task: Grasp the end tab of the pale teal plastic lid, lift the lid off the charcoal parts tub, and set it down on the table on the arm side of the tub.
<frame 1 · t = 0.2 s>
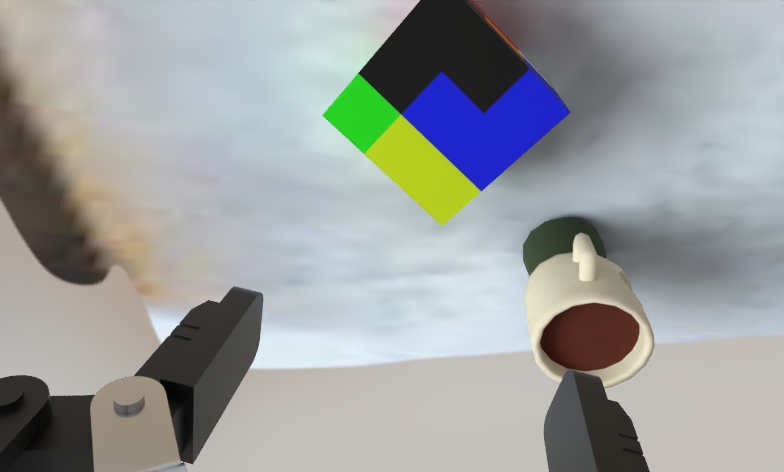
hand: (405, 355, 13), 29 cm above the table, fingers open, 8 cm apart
character mug: (560, 246, 43), on the table
puzzle toy: (450, 82, 39), on the table
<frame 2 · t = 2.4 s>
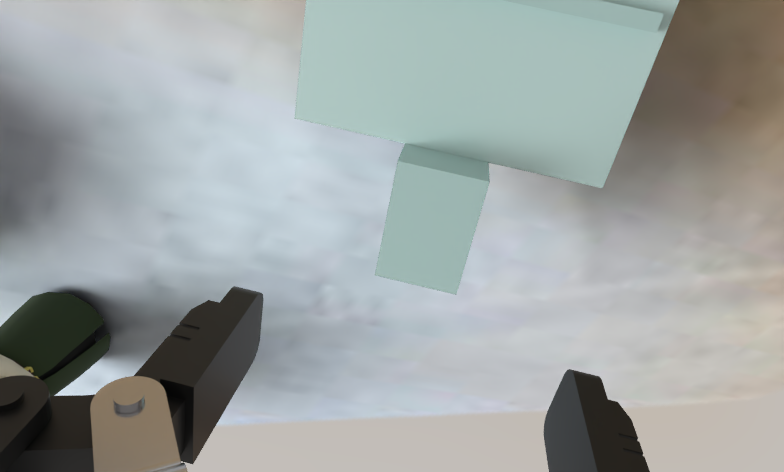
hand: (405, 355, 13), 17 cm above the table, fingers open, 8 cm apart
character mug: (76, 321, 38), on the table
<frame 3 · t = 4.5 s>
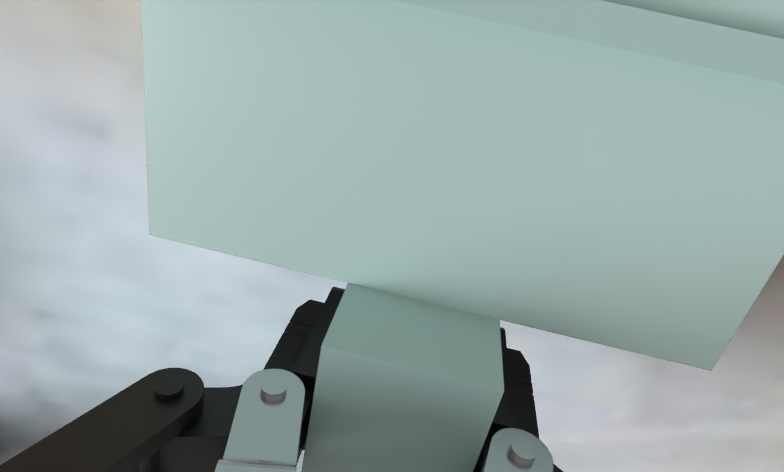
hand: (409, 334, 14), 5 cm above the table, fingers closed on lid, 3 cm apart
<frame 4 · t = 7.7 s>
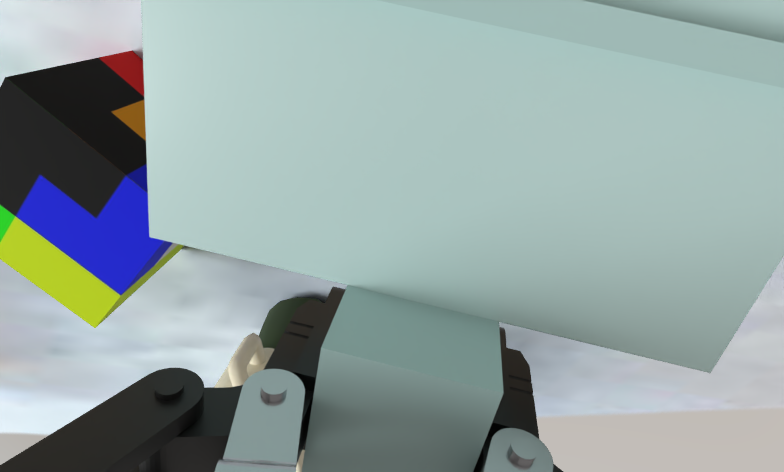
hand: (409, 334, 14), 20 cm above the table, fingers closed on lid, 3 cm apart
character mug: (309, 324, 41), on the table
puzzle toy: (160, 157, 36), on the table
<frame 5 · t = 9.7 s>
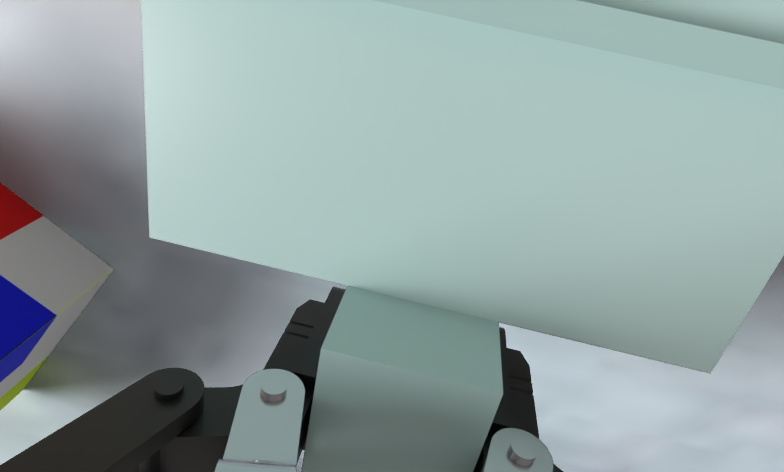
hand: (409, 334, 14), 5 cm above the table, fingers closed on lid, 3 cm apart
when the fingers open (1 cm above the table, at t = 11.2 s): lid drops 2 cm, on the table.
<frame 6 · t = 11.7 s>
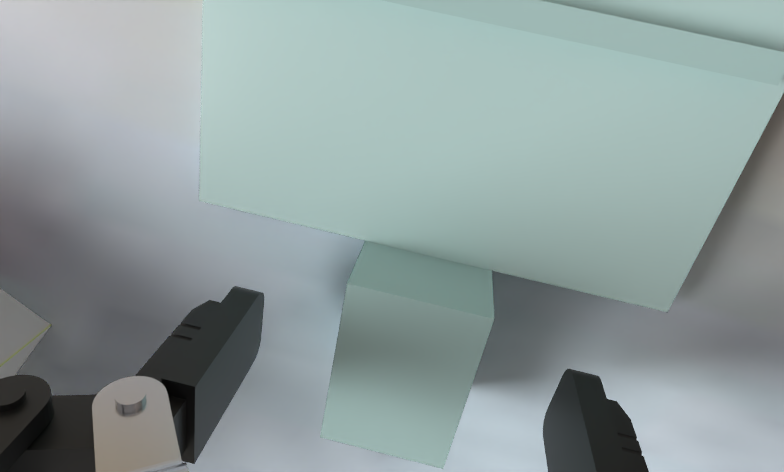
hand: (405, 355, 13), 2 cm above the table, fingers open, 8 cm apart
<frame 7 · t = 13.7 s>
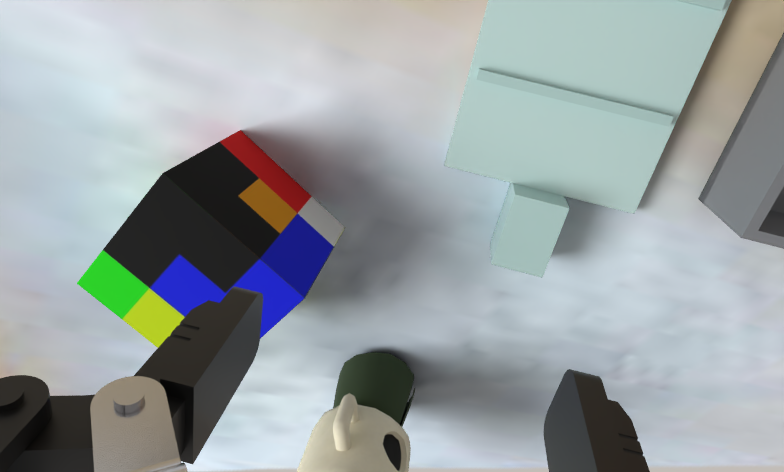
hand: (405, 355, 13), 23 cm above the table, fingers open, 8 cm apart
character mug: (379, 375, 43), on the table
puzzle toy: (254, 222, 39), on the table
lid: (588, 39, 31), on the table
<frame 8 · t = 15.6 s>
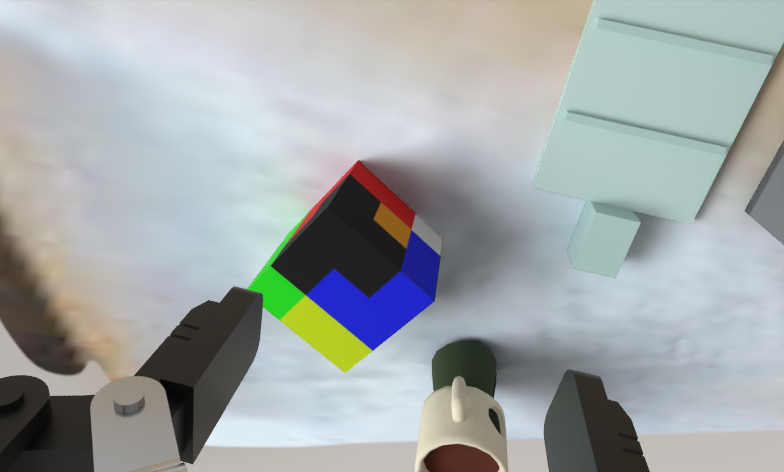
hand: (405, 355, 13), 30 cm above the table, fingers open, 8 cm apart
character mug: (464, 360, 51), on the table
puzzle toy: (364, 235, 47), on the table
lid: (656, 85, 38), on the table
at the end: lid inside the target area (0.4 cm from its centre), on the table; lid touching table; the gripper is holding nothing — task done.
